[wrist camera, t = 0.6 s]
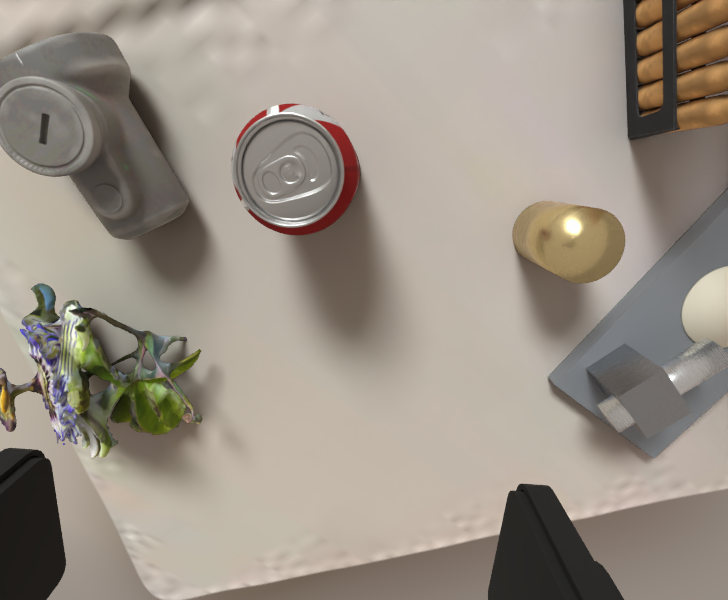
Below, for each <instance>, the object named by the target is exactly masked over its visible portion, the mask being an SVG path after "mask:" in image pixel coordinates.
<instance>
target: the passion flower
mask: <svg viewBox="0 0 728 600" xmlns="http://www.w3.org/2000/svg"><path fill="white" fill-rule="evenodd" d="M31 290H33V292H34V293H35V297H36V299H37V302H38V306H37V307H36V309H35V310H34V311H33V312H32V313H30V314H29V315H28V316H26V317H25V318H24V319H23V320H22V324H23V325H24V326H25V327H26V329H27V331H26V330H25V329H20V331H21V333H22V334H23V335H24V336H25V337H26V339H27V340H28V344H29V346H30V347H29V350H28V351H29V354H30V356H31V357H32V358H33V359H34V360H35V362H36V363H37V366H38V372H37V374H36V376H35V378H34V379H33V380H32V381H30V382H29V383H26V384H23V385H18V386H17V385H13V384H11V383H9V381H8V380H7V377H6V372H5V371H4V370H3V369H2V368H0V420H1V421H2V424H3V425H4V426H5V427H6V430H7V431H9V432H11V431H14V430H15V428H16V416H15V407H14V399H15V397H16V396H17V395H19V394H21V393H23V392H26V391H32V392H37V393H40V394H42V396H43V401H44V402H45V408H46V409H49V414H50V417H51V422H52V426H53V428H54V431H55V432H56V434H57V443H58V440H59V439H60V438H61V440H62V441H64V440H65V438H68V439H69V441H70V442H73V443H75V444H77V439H76V437H78V436H79V435H80V436H81V435H83V439H82V448H83V449H85V448H87V447H88V445H90V452H91V458H94V457H96V456H98V454H99V451H100V449H101V453H100V455H99V458H103V457H105V456H106V455H107V454H108V452H109V450H110V448H111V447H113V446H115V445H116V444H117V443H118V441H115V440H114V438H112V434H111V433H110V432H109V427H108V426H107V421H108V417H109V415H110V414H111V412H112V408H113V406H114V404H115V403H116V402H117V400H118V399H119V398H120V399H119V401H118V403H117V404H116V406H115V408H114V410H113V412H112V415H111V417H110V418H111V420H112V422H117V423H123V422H130V426H131V427H132V429H135V430H136V431H137V432H148V433H152V435H159V434H166V433H168V432H169V431H171V430H173V429H174V428H175V427H178V425H179V423H180V421H181V419H182V420H184V421H185V422H186V423H187V424H189V423H197V424H200V423H201V422H202V415H201V414H198V415H196V416H194V412H193V406H192V404H191V403H190V402H189V400H188V399H187V397H186V396H185V395H184V394H183V392H182V390H181V389H180V388H179V387H178V386H177V384H176V383H175V382H174V381H173V380H172V379H173V378H175V377H177V376H178V375H180V374H181V373H183V372H185V371H186V370H188V369H189V368H190V367H192V365H193V364H194V363H195V362H196V360H197V359H198V357H199V354H200V352H201V350H200V349H199V350H197V351H196V352H195V353H193V354H191V355H190V356H188V357H187V358H185V359H184V360H182V361H179V362H177V363H168V364H167V363H163V362H162V361H161V360H160V355H161V354H163V353H165V352H166V351H167V348H168V346H169V345H170V344H171V343H173V342H175V341H186V340H187V339H186V337H167V336H157V335H155V334H154V333H151V332H150V331H143V332H142V331H137V330H135V329H132V328H131V327H128V326H126V325H124V324H122V323H120V322H118V321H116V320H114V319H112V318H110V317H108V316H107V315H106V314H104V313H102V312H99V311H97V310H95V309H92V308H82V307H81V306H80V304H79V302H78V301H76V300H73V301H68V302H66V303H64V304H63V307H62V308H61V310H60V312H59V313H60V317H59V316H58V315H57V314H56V313H55V308H54V306H55V301H56V296H55V293H54V291H53V289H52V288H51V287H49V286H48V285H45V284H42V283H39V284H37V285H35V286H34V287H32V288H31ZM96 317H99V318H102V319H104V320H106V321H107V322H109V323H110V324H112V325H113V326H115V327H119V328H121V329H123V330H125V331H128V332H129V333H131V334H133V335H135V336H136V338H137V340H138V348H137V350H136V351H134V352H132V353H131V354H129V355H126V356H124V357H122V358H121V359H119V360H117V361H115V362H114V363H111V364H110V363H109V362H108V360H107V358H106V356H105V353H104V352H103V350H102V348H101V346H100V343H99V340H98V339H96V338H95V337H94V336H93V334H92V332H91V329H90V322H91V321H92V320H93V318H96ZM147 350H148V351H149V352H150V354H151V356H152V357H153V359H154V361H155V363H156V368H155V369H154V370H153V371H150V370H147V369H145V368H144V366H143V357H144V354H145V351H147ZM131 357H133V358H135V359H136V361H137V363H136V367H135V368H134V370H133V371H132V372H131V373H129V374H124V373H122V372H120V371H119V370H117V369H116V368H115V367H113V365H115V364H117V363H119V362H121V361H124V360H126V359H128V358H131ZM81 368H83V369H85V370H86V371H87V372H83V371H81ZM93 375H97V376H99V378H101V379H103V380H106V381H109V382H110V386H109V387H108V388H107V389H105V390H104V391H102V392H100V393H98V394H94V395H91V393H90V390H89V378H90V377H91V376H93ZM167 380H168V381H169V382H170V384H171V385H172V386H173V388H174V389H172V388H171V386H170V385H168V384H167V383H166V381H167ZM186 405H187V406H188V407H189V408H190V409H191V412H192V414H191V413H186V414H184V412H185V409H186ZM183 414H184V415H183ZM81 433H82V434H81ZM63 445H65V444H64V443H63Z"/></svg>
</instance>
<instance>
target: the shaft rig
mask: <svg viewBox="0 0 728 600" xmlns="http://www.w3.org/2000/svg"><path fill="white" fill-rule="evenodd" d="M703 338H709V339H711V340H713V341H714V342H716V343H717V344H718V345H719V346H721V347H722V348H723V349H724V350H725V351H726V352H727V354H728V189H727V190H726V191H725V192H724V193H723V194H722V195H721V196H720V197H719V198H718V199H717V200H716V201H715V202H714V203H713V204H712V205H711V206H710V208H709V209H708V210H707V211H706V212H705V213H704V214H703V215H702V216H701V217H700V218H699V219H698V220H697V221H696V222H695V223H694V224H693V225H692V226H691V227H690V229H689V230H688V231H687V232H686V233H685V234H684V235H683V236H682V237H681V238H680V239H679V240H678V241H677V242H676V243H675V244H674V245H673V246H672V247H671V248H670V249H669V251H668V252H667V253H666V254H665V255H664V256H663V257H662V258H661V259H660V260H659V261H658V262H657V263H656V264H655V265H654V266H653V267H652V268H651V269H650V270H649V272H648V273H647V274H646V275H645V276H644V277H643V278H642V279H641V280H640V281H639V282H638V283H637V284H636V285H635V286H634V287H633V288H632V289H631V290H630V291H629V292H628V294H627V295H626V296H625V297H624V298H623V299H622V300H621V301H620V302H619V303H618V304H617V305H616V306H615V307H614V308H613V309H612V310H611V311H610V312H609V313H608V315H607V316H606V317H605V318H604V319H603V320H602V321H601V322H600V323H599V324H598V325H597V326H596V327H595V328H594V329H593V330H592V331H591V332H590V333H589V334H588V335H587V337H586V338H585V339H584V340H583V341H582V342H581V343H580V344H579V345H578V346H577V347H576V348H575V349H574V350H573V351H572V352H571V353H570V354H569V355H568V356H567V358H566V359H565V360H564V361H563V362H562V363H561V364H560V365H559V366H558V367H557V368H556V369H555V370H554V371H553V372H552V373H551V374H550V375H549V376H548V378H549V379H550V380H551V381H552V383H553V384H554V385H555V386H557V387H558V388H559V389H561V390H562V391H563V392H565V393H566V394H567V395H569V396H570V397H571V398H573V399H574V400H575V401H577V402H578V403H580V404H581V405H582V406H584V407H585V408H586V409H588V410H589V411H590V412H592V413H593V414H594V415H596V416H597V417H598V418H600V419H601V420H602V421H604V422H605V423H607V424H608V425H609V426H611V427H612V428H613V429H615V428H614V427H613V426H612V425H611V424H610V422H609V421H608V420H607V419H606V418H605V416H604V415H603V414H602V413H601V411H600V410H599V408H598V407H597V404H599V403H600V402H602V401H604V400H605V399H607V398H606V396H605V395H604V393H603V392H602V391H601V389H600V388H599V386H598V385H597V384H596V382H595V381H594V379H593V378H592V376H591V375H590V374H589V372H588V371H587V369H586V368H587V367H589V366H590V365H592V364H593V363H595V362H596V361H598V360H599V359H601V358H602V357H604V356H606V355H607V354H609V353H610V352H612V351H613V350H615V349H616V348H618V347H620V346H621V345H623V344H624V343H625V344H626V345H628V346H629V347H631V348H633V349H634V350H636V351H637V352H639V353H640V354H642V355H643V356H645V357H646V358H648V359H649V360H651V361H652V362H654V363H655V364H657V365H658V366H659V365H661V364H663V363H664V362H666V361H667V360H669V359H671V358H672V357H674V356H675V355H677V354H679V353H680V352H682V351H683V350H685V349H687V348H688V347H690V346H691V345H693V344H695V343H696V342H698V341H699V340H701V339H703ZM727 392H728V367H727V368H725V369H723V370H722V371H720V372H718V373H717V374H715V375H713V376H712V377H710V378H708V379H707V380H705V381H704V382H702V383H700V384H699V385H697V386H695V387H694V388H692V389H690V390H689V391H687V392H685V393H684V394H682V395H681V396H682V398H683V399H684V401H685V402H686V404H687V405H688V407H689V408H690V410H691V411H692V413H690V414H689V415H687V416H685V417H683V418H682V419H680V420H678V421H677V422H675V423H673V424H672V425H670V426H668V427H667V428H665V429H663V430H662V431H660V432H658V433H657V434H655V435H653V436H652V437H650V438H648V439H647V438H646V437H645V436H644V435H643V434H642V433H641V432H640V431H639V430H638V429H636V428H635V427H634V426H633V425H631V426H629V427H628V428H626V429H624V430H623V431H621V432H619V433H620V434H621V435H623V436H624V437H625V438H627V439H628V440H629V441H631V442H632V443H634V444H635V445H636V446H638V447H639V448H640V449H642V450H643V451H644V452H646V453H647V454H648V455H650V456H651V457H652V458H655V457H656V456H658V455H659V454H660V453H661V452H662V451H663V450H664V449H665V448H666V447H667V446H669V445H670V444H671V443H672V442H673V441H674V440H675V439H676V438H677V437H678V436H679V435H681V434H682V433H683V432H684V431H685V430H686V429H687V428H688V427H689V426H690V425H692V424H693V423H694V422H695V421H696V420H697V419H698V418H699V417H700V416H701V415H703V414H704V413H705V412H706V411H707V410H708V409H709V408H710V407H711V406H712V405H713V404H715V403H716V402H717V401H718V400H719V399H720V398H721V397H722V396H723V395H724V394H726V393H727ZM615 430H616V429H615ZM616 431H617V430H616ZM617 432H618V431H617Z"/></svg>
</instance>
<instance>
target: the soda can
mask: <svg viewBox="0 0 728 600" xmlns="http://www.w3.org/2000/svg"><path fill="white" fill-rule="evenodd" d="M231 166H232V178H233V183H234V186H235V190H236V192H237V195H238V197H239V199H240V201H241V202H242V204H243V205H244V207H245V208H246V210H247V211H248V212H249V213H250V214H251V215H252V216H253V217H254V218H255V219H256V220H257V221H258V222H260V223H261V224H263V225H264V226H266V227H268V228H270V229H272V230H274V231H277V232H279V233H283V234H289V235H306V234H311V233H315V232H318V231H321V230H323V229H325V228H327V227H328V226H330V225H331V224H333V223H334V222H335V221H336V220H338V219H339V218H340V217H341V215H342V214H343V213H344V212H345V211H346V209H347V208H348V206H349V204H350V203H351V201H352V199H353V197H354V195H355V193H356V191H357V188H358V185H359V180H360V165H359V160H358V157H357V154H356V152H355V150H354V148H353V146H352V144H351V142H350V140H349V138H348V136H347V135H346V133H345V132H344V130H343V129H342V128H341V127H340V126H339V124H338V123H336V122H335V121H334V120H333V119H332V118H331V117H329V116H328V115H327V114H325V113H323V112H322V111H320V110H318V109H315V108H313V107H310V106H306V105H301V104H283V105H278V106H274V107H271V108H268V109H266V110H264V111H262V112H261V113H259V114H258V115H256V116H255V117H254V118H253V119H251V120H250V122H249V123H248V124H247V125H246V126H245V127H244V129H243V130H242V132H241V133H240V135H239V137H238V139H237V141H236V144H235V147H234V150H233V155H232V165H231Z"/></svg>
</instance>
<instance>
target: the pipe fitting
mask: <svg viewBox="0 0 728 600" xmlns="http://www.w3.org/2000/svg"><path fill="white" fill-rule="evenodd" d="M130 79H131V71H130V68H129V66H128V64H127V62H126V60H125V59H124V57H123V55H122V53H121V51H120V50H119V48H118V46H117V44H116V43H115V41H114V40H113V39H112V38H111V37H109V36H107V35H104V34H101V33H94V32H76V33H68V34H63V35H58V36H54V37H51V38H47V39H45V40H42V41H39V42H36V43H34V44H31V45H29V46H26V47H24V48H22V49H20V50H18V51H15V52H13V53H11V54H10V55H8V56H6V57H4V58H2V59H0V145H1V147H2V148H3V149H4V151H5V152H6V153H7V154H8V155H9V156H10V157H11V158H12V159H13V160H14V161H15V162H17V163H18V164H19V165H21V166H22V167H24V168H26V169H28V170H30V171H32V172H34V173H37V174H40V175H45V176H52V177H60V176H67V175H69V176H70V178H71V179H72V180H73V182H74V183H75V185H76V186H77V188H78V189H79V191H80V192H81V194H82V195H83V196H84V198H85V199H86V201H87V202H88V204H89V205H90V207H91V208H92V209H93V211H94V212H95V214H96V215H97V217H98V218H99V220H100V221H101V222H102V224H103V225H104V227H105V228H106V229H107V231H108V232H109V233H110V234H111V235H112V236H113V237H115V238H119V239H127V240H129V239H134V238H137V237H139V236H141V235H144V234H146V233H148V232H150V231H152V230H154V229H156V228H158V227H160V226H162V225H165V224H166V223H168V222H170V221H172V220H174V219H176V218H178V217H180V216H181V215H182V214H183V213H184V212H185V210H186V207H187V205H188V202H189V199H188V197H187V195H186V193H185V191H184V189H183V188H182V186H181V184H180V183H179V181H178V179H177V178H176V176H175V174H174V173H173V171H172V169H171V168H170V166H169V164H168V163H167V161H166V159H165V158H164V156H163V154H162V153H161V151H160V149H159V148H158V146H157V144H156V143H155V141H154V140H153V138H152V136H151V135H150V133H149V131H148V130H147V128H146V126H145V125H144V123H143V121H142V120H141V118H140V116H139V115H138V113H137V111H136V110H135V108H134V106H133V105H132V103H131V101H130V100H129V88H130Z"/></svg>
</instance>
